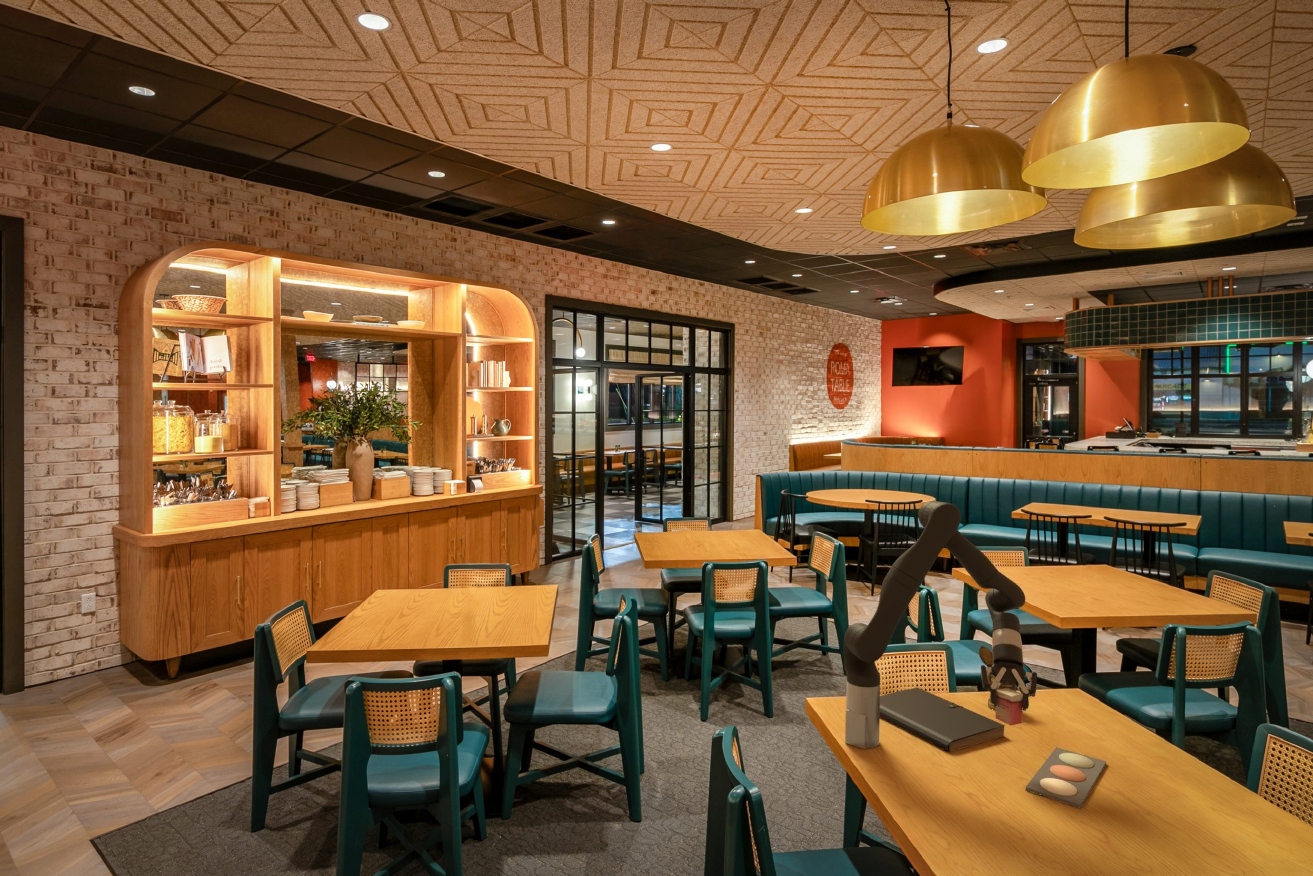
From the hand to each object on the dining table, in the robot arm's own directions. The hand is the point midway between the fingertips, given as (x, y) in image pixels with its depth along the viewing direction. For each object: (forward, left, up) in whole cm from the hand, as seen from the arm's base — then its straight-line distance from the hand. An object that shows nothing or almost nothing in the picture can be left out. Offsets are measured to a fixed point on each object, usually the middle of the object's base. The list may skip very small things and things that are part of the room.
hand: (1009, 707), depth 183 cm
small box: (+2, +1, -5) cm, 5 cm away
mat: (+7, -12, -17) cm, 22 cm away
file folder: (+16, +27, -18) cm, 36 cm away
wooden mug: (+44, +16, -17) cm, 50 cm away
